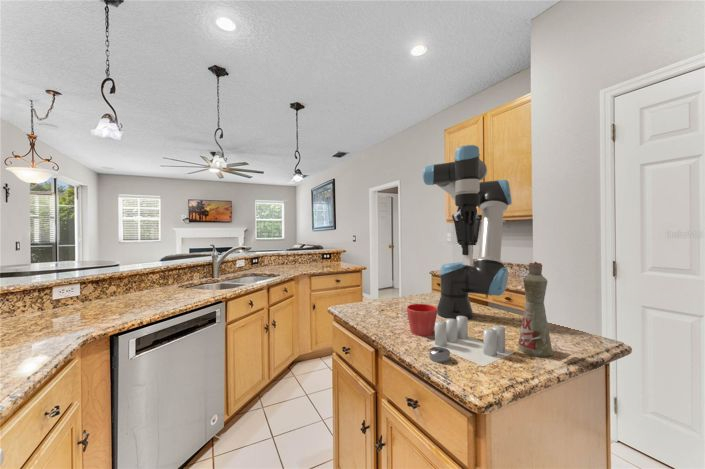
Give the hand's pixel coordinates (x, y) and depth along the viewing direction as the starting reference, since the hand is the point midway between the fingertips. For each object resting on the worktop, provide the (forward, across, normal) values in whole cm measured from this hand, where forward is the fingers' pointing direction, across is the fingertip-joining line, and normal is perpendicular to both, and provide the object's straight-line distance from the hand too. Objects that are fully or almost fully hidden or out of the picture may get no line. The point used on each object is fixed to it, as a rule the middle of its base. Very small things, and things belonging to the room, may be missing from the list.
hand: (467, 264), depth 95 cm
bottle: (+27, -10, +16) cm, 33 cm away
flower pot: (+27, +6, -15) cm, 31 cm away
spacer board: (+26, +4, +3) cm, 27 cm away
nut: (+26, +18, +3) cm, 32 cm away
